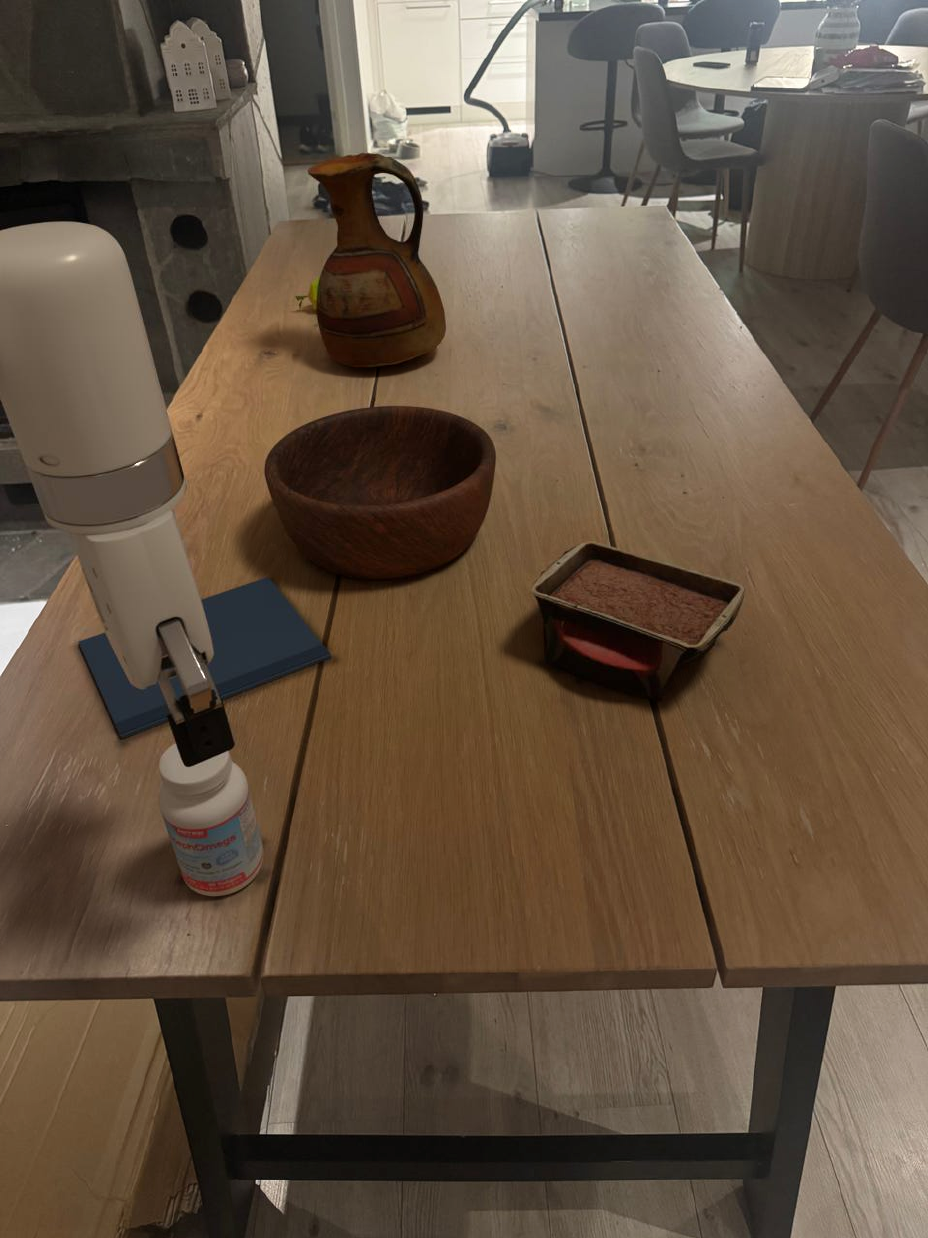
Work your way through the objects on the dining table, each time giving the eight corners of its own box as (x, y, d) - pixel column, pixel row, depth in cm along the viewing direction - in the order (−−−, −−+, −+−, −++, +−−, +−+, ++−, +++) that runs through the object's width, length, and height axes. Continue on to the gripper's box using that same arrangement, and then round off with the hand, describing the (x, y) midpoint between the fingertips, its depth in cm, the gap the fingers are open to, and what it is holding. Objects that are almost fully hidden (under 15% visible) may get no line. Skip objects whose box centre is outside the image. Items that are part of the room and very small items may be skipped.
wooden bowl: (338, 470, 119) (328, 394, 113) (524, 496, 112) (524, 417, 105) (236, 574, 100) (217, 490, 94) (452, 614, 93) (447, 526, 87)
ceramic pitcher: (324, 339, 157) (298, 144, 139) (442, 331, 158) (431, 136, 140) (321, 384, 142) (292, 171, 124) (452, 375, 143) (442, 162, 125)
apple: (341, 266, 166) (291, 271, 164) (347, 298, 164) (297, 303, 163) (341, 289, 173) (293, 294, 171) (347, 319, 171) (298, 324, 170)
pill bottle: (172, 898, 67) (133, 791, 60) (197, 832, 72) (163, 726, 65) (255, 901, 66) (224, 793, 60) (274, 834, 71) (248, 727, 64)
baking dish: (602, 602, 97) (590, 519, 92) (765, 643, 86) (762, 552, 81) (522, 682, 89) (503, 597, 83) (690, 739, 78) (681, 645, 72)
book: (121, 739, 80) (120, 735, 80) (79, 644, 91) (77, 640, 91) (331, 657, 88) (330, 653, 88) (268, 579, 99) (268, 575, 99)
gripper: (7, 436, 54) (94, 661, 64) (74, 572, 42) (167, 822, 52) (134, 403, 57) (198, 623, 67) (231, 521, 45) (290, 767, 55)
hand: (184, 710), depth 60 cm, fingers open, 9 cm apart
